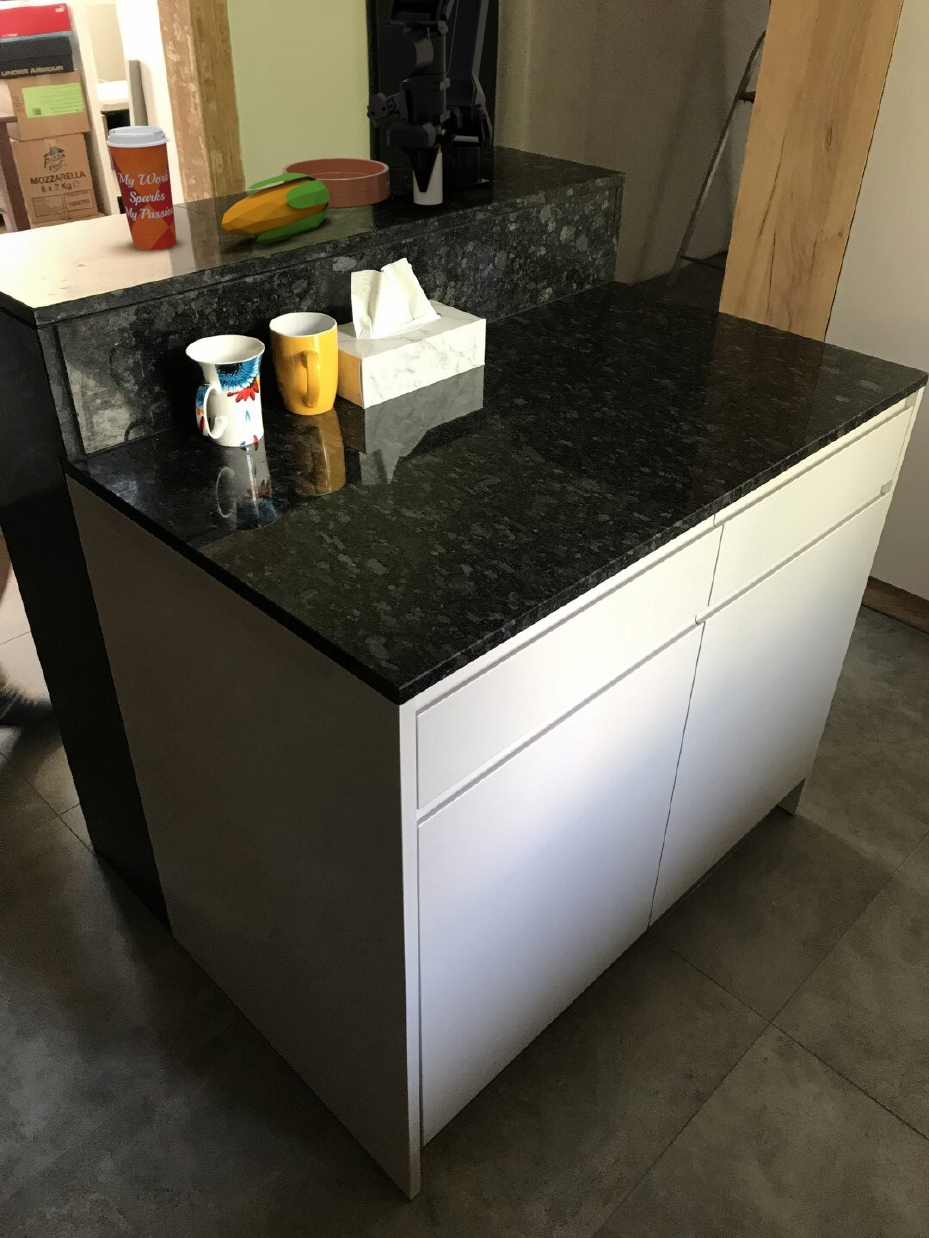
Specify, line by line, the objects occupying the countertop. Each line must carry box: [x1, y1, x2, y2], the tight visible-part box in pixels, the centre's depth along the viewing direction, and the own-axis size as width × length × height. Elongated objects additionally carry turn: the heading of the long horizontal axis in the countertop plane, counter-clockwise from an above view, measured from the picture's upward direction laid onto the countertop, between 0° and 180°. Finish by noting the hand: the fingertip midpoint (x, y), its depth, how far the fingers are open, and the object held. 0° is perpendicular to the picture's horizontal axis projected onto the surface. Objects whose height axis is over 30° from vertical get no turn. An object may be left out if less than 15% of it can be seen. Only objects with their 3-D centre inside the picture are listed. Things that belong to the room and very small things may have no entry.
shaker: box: [412, 145, 444, 206], centre depth 150 cm, size 4×4×8 cm
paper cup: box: [105, 125, 177, 251], centre depth 130 cm, size 8×8×14 cm
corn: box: [221, 173, 330, 244], centre depth 135 cm, size 7×8×20 cm
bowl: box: [281, 157, 391, 209], centre depth 154 cm, size 16×16×4 cm
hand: (427, 188), depth 151 cm, fingers closed on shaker, 4 cm apart
